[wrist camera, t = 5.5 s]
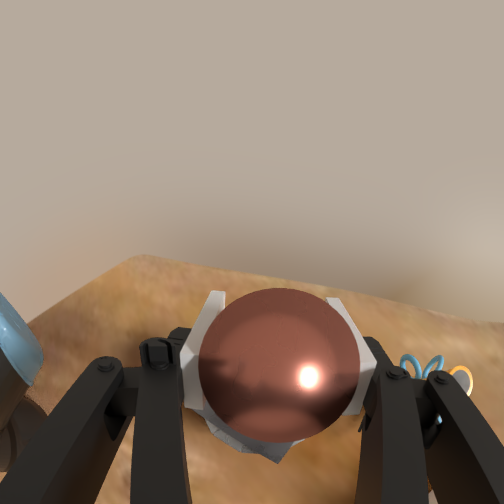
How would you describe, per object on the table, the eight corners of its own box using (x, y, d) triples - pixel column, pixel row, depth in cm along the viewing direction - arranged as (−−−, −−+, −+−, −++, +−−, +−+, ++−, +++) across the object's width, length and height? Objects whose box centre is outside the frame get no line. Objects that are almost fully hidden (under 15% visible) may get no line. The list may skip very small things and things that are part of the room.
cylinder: (354, 379, 36) (403, 356, 24) (409, 351, 38) (466, 316, 25) (382, 450, 30) (442, 457, 17) (435, 416, 32) (501, 403, 19)
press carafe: (183, 398, 35) (147, 387, 22) (230, 337, 40) (221, 294, 27) (269, 455, 31) (281, 478, 18) (314, 389, 36) (349, 372, 23)
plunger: (223, 404, 27) (165, 380, 9) (253, 364, 30) (258, 262, 11) (267, 432, 26) (306, 470, 7) (296, 391, 28) (384, 335, 10)
